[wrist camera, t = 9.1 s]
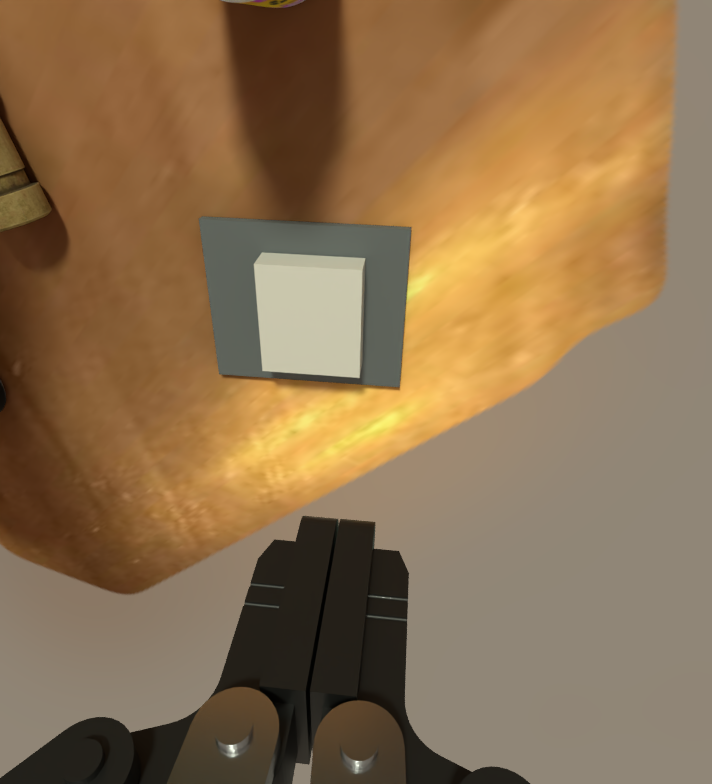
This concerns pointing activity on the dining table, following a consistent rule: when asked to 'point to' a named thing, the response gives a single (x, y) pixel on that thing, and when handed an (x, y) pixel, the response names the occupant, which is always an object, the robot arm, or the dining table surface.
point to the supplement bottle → (268, 2)
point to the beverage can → (2, 396)
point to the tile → (310, 313)
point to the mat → (253, 236)
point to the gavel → (17, 189)
